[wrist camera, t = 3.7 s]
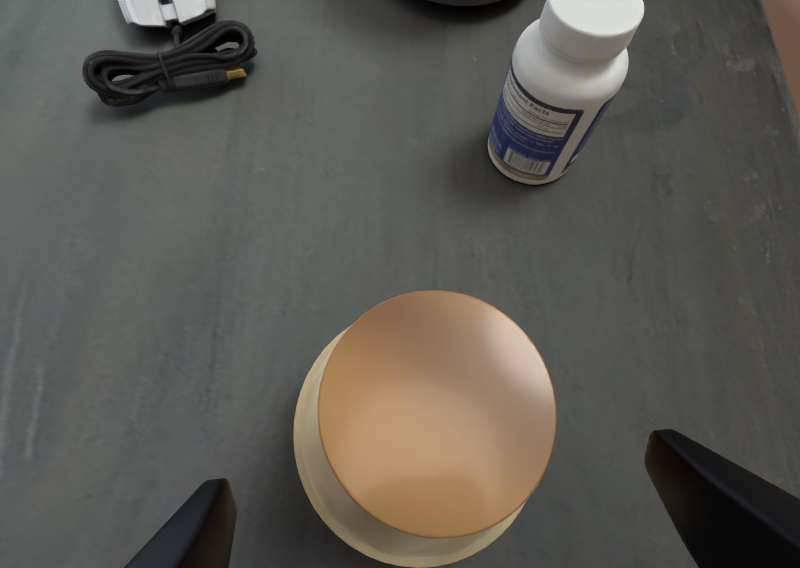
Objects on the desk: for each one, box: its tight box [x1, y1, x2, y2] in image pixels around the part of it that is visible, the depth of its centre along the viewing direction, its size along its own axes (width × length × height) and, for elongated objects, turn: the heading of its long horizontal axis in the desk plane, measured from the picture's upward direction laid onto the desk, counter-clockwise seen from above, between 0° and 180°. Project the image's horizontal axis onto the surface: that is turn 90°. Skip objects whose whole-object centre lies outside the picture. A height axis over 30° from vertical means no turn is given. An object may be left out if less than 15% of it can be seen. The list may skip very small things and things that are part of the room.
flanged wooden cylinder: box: [318, 290, 557, 539], centre depth 13 cm, size 6×6×8 cm
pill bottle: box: [488, 0, 644, 184], centre depth 23 cm, size 5×5×10 cm
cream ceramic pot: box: [293, 327, 525, 568], centre depth 19 cm, size 9×9×5 cm
